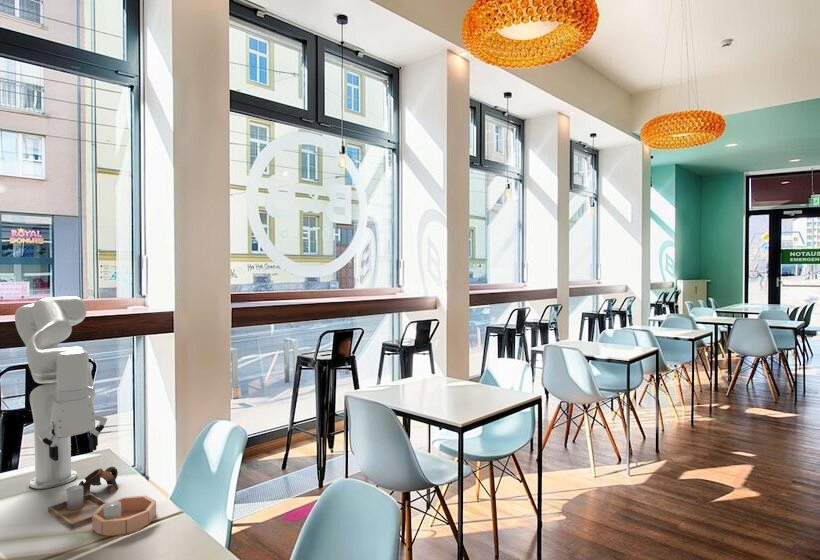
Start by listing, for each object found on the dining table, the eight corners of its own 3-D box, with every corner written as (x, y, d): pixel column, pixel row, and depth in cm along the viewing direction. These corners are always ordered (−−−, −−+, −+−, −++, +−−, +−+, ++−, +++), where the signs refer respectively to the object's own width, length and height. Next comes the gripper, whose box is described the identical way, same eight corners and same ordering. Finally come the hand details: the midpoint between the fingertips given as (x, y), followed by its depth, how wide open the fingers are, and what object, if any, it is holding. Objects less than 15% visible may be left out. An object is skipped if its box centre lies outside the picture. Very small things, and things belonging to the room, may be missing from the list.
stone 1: (64, 508, 144) (64, 489, 144) (80, 502, 147) (79, 484, 147) (70, 512, 142) (69, 492, 141) (86, 506, 145) (85, 487, 145)
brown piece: (109, 501, 150) (92, 480, 148) (84, 513, 152) (67, 492, 150) (132, 475, 162) (116, 455, 160) (108, 486, 163) (93, 466, 161)
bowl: (85, 526, 135) (84, 510, 135) (139, 506, 146) (138, 491, 146) (109, 543, 126) (108, 526, 126) (164, 520, 138) (164, 505, 138)
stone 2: (116, 519, 137) (116, 499, 136) (124, 523, 134) (123, 503, 134) (101, 526, 133) (100, 505, 133) (109, 530, 131) (108, 509, 131)
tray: (48, 513, 142) (48, 507, 142) (91, 498, 151) (91, 492, 151) (71, 531, 132) (71, 524, 132) (116, 514, 141) (116, 507, 141)
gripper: (100, 386, 153) (101, 443, 153) (31, 399, 139) (33, 461, 139) (111, 390, 148) (112, 448, 149) (42, 403, 134) (43, 467, 135)
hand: (74, 454), depth 144 cm, fingers open, 9 cm apart
